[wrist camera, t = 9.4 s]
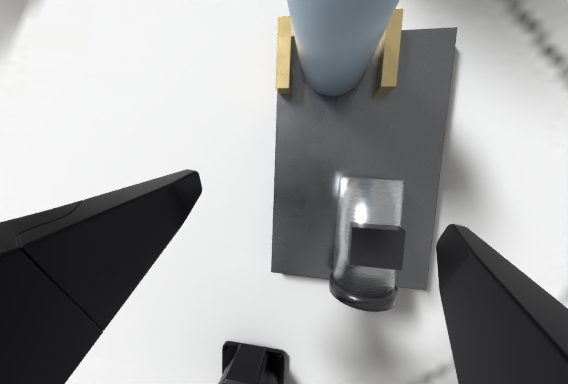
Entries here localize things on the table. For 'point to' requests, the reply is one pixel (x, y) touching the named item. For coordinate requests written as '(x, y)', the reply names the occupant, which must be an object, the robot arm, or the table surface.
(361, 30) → the bottle
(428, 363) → the table surface
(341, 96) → the plate
